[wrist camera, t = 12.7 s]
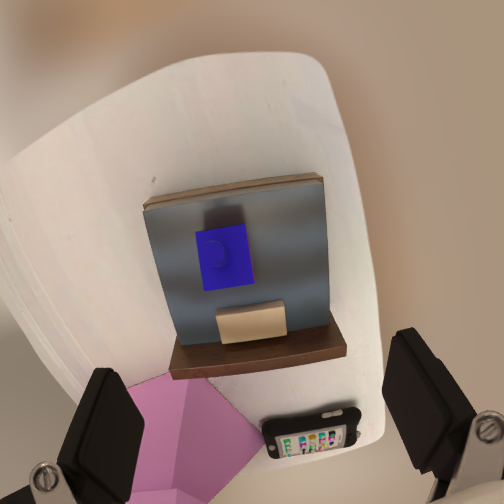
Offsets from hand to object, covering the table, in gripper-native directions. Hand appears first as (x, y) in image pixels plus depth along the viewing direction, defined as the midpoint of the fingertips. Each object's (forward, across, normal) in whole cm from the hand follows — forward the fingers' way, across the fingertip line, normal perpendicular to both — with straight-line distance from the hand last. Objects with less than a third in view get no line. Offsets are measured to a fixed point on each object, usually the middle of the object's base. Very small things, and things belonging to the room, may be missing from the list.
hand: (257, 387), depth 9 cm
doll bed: (+22, +1, +5) cm, 23 cm away
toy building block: (+17, +2, +2) cm, 17 cm away
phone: (+22, -6, +36) cm, 42 cm away
